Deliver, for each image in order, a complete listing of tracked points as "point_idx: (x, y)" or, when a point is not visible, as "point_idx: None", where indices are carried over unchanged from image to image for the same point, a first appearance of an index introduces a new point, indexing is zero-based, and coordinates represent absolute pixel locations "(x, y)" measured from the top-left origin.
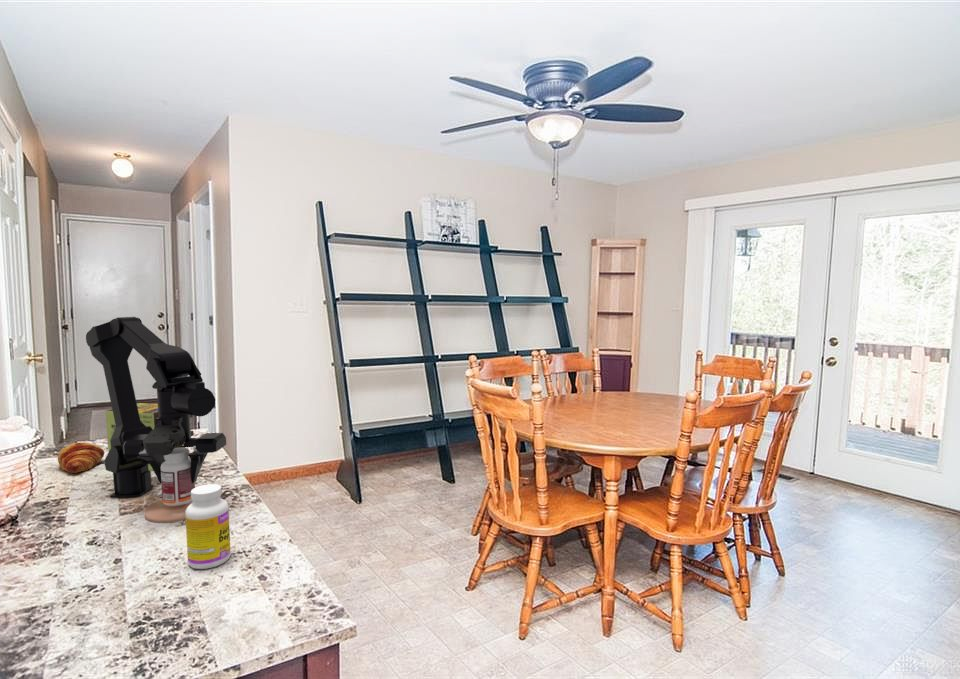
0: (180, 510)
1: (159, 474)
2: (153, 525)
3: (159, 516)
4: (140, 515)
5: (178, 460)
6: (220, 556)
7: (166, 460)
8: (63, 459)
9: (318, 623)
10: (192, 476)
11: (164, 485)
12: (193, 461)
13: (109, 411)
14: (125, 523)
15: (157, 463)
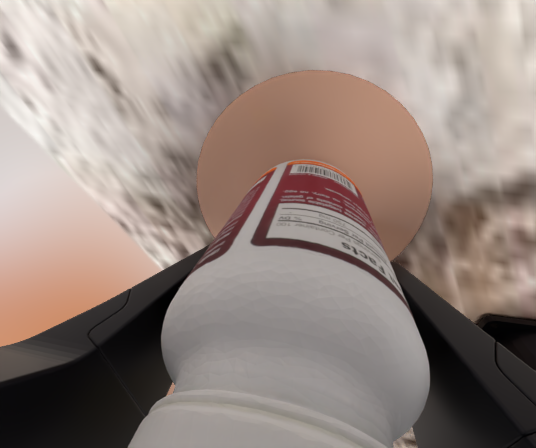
0: (275, 153)
1: (416, 300)
2: (349, 41)
3: (338, 91)
4: (442, 164)
5: (196, 384)
6: None
7: (363, 427)
8: None
9: None
10: (193, 260)
11: (346, 203)
12: (75, 341)
13: None
14: (498, 74)
15: (487, 412)
